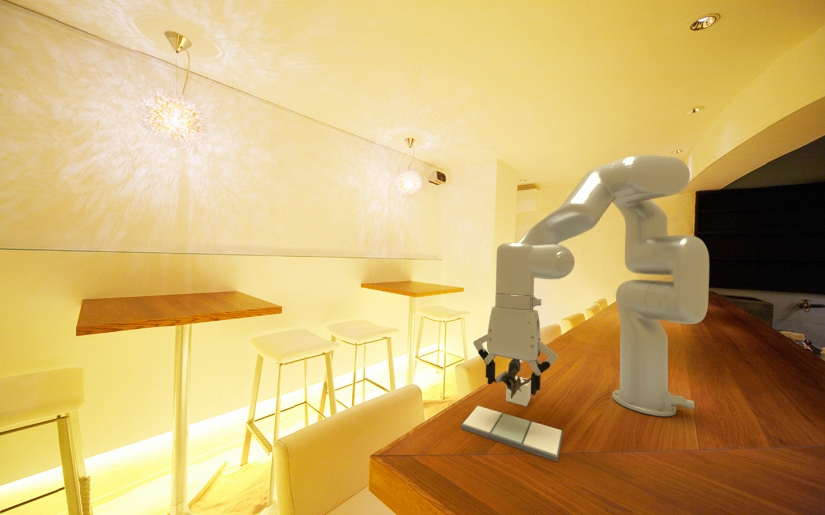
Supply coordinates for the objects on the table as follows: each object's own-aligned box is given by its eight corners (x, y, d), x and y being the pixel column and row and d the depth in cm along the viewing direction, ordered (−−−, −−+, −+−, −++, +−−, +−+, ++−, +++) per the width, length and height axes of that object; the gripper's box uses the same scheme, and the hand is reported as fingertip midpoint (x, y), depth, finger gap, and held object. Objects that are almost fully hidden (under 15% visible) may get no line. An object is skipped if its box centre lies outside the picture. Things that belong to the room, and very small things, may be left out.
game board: (562, 434, 59) (562, 429, 59) (557, 462, 51) (557, 456, 51) (477, 409, 69) (477, 404, 69) (461, 428, 60) (461, 423, 60)
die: (530, 398, 75) (530, 379, 75) (526, 406, 71) (527, 385, 71) (510, 393, 78) (510, 374, 78) (505, 401, 73) (506, 380, 74)
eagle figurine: (541, 395, 57) (527, 370, 66) (523, 365, 56) (511, 344, 65) (507, 412, 58) (498, 385, 67) (489, 383, 57) (482, 360, 66)
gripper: (562, 304, 59) (560, 392, 58) (479, 297, 68) (477, 372, 68) (558, 308, 52) (556, 406, 52) (467, 300, 62) (465, 382, 61)
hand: (511, 386), depth 60 cm, fingers closed on eagle figurine, 8 cm apart
